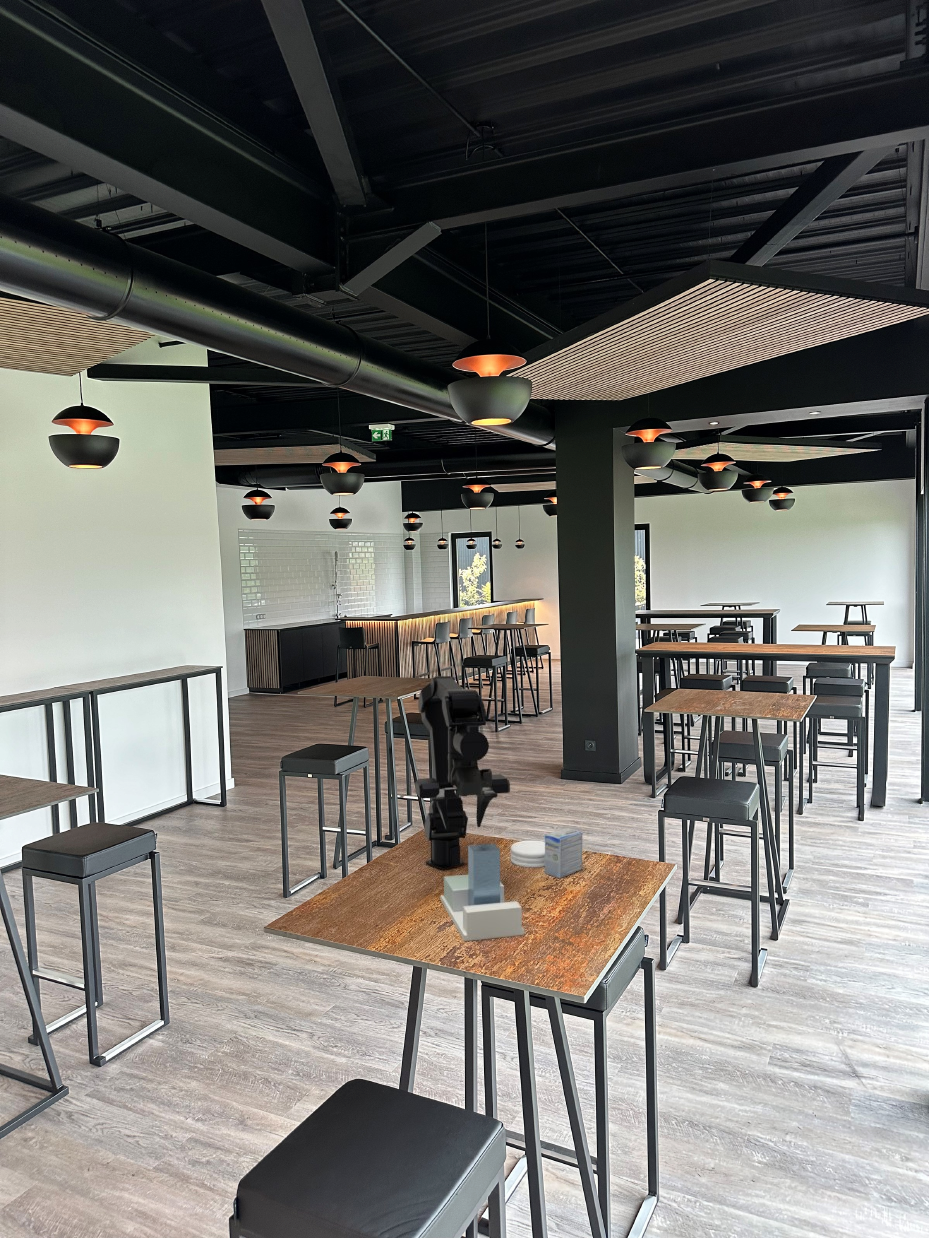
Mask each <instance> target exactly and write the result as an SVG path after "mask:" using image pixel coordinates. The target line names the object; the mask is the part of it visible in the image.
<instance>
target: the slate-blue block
mask: <svg viewBox="0 0 929 1238" xmlns="http://www.w3.org/2000/svg"><path fill="white" fill-rule="evenodd" d="M467 848H468V849H467V858H468V860H467V863H468V865H467V868H468V872H467V875H468V904H469V906H472V905H483V904H493V903H500V882H501V849H500V848H499V846H497V845H496V843H483V844H471V845H470V844H469V845H467Z"/></svg>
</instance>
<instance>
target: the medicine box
mask: <svg viewBox="0 0 929 1238" xmlns="http://www.w3.org/2000/svg"><path fill="white" fill-rule="evenodd" d="M544 842H545V867H544V874H545V875H548V876H551V877H554V878H557V879H562V878H564V877H567V876H569V875H572V874H575V873H576V871H577V872H579V871H581V869H582V870H583V832H582V831H580V830H577V829H574V828H571V827H570V828H569V827H566V828H562V829H559V830H557V831H553V832H550V833H547V834H544Z"/></svg>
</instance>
